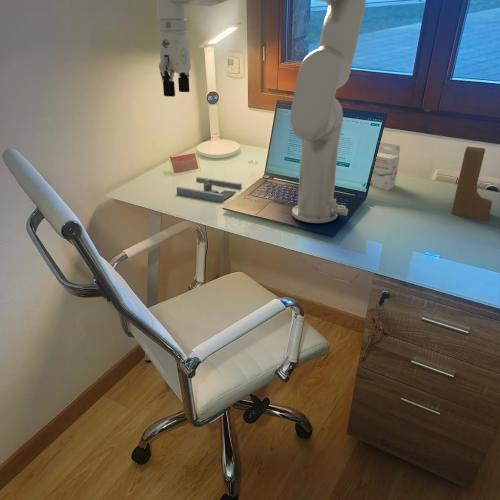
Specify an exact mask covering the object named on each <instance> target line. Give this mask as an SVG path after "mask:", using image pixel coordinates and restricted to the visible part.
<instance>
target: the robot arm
mask: <svg viewBox="0 0 500 500" xmlns="http://www.w3.org/2000/svg"><path fill="white" fill-rule="evenodd" d="M316 1H319V2H325V3H326V5H327V12H326V14H325V17H324V20H323V23H322V27H321V33H320V37H319V43H318V46H317V49H315V50H312V51H310V52H309V53H308V54H307V55H306V56H305V57H304V59H303V60H302V62H301V64H300V67H299V68H298V69H299V70H298V72H297V76H296V83H295V88H294V92H293V97H292V102H291V103H292V104H291V107H290V114H289V125H290V128H291V131H292V132H293V134H294V136H295V137H297V138H298V139H299V140H300V141H301V146H300V156H299V157H300V158H299V159H300V161H299V175H298V177H299V178H298V193H297V197H298V198H297V205H295V206H294V207H293V208H292V209H291V215H292V217H293V218H294V219H296V220H298V221H301V222H304V223H305V222H306V223H311V224H324V223H330V222H333V221H335V220H336V219H337V218H338V216H339V215H340V216H345V217H346V216H348V213H349V208H347V207H346V205H342V204H338V203H337V198H334V193H335V186H336V183H335V182H336V175H337V174H336V173H337V163H338V162H337V160H338V154H339V145H340V144H339V142H340V136H341V132H342V127H343V121H344V120H343V119H344V112H343V107H342V105H341V103H340V102H339V100H338V99H337V98H336V94H337V90H338V89H340V88H341V87H343V86H344V85H345V84H346V83H347V82H348V79H349V78H350V76H351V75H350V74H351V72H352V71H351V70H352V67H353V61H354V57H355V53H356V48H357V44H358V39H359V36H360V30H361V26H362V22H363V18H364V13H365V8H366V0H316ZM224 2H229V0H156V11H157V23H158V24H157V25H158V34H159V37H160V38H159V56H160V62H159V63H158V69H159V71H160V73H159V74H160V76H161V81H162V88H163V96H164V97H170V98H171V97H173V98H174V97H175V96H176V89H175V88H176V87H175V86H176V85H175V80H174V76H175V73H176V74H177V75H178V76H179V77H177V79H178V80H177V82H178V91H179V93H189V92H190V70H191V68H192V64H191V63H192V62H191V54H190V44H189V39H188V29H187V28H188V27H187V9H186V7H187V6H186V5H188V6H199V7H200V6H201V7H202V6H203V7H212V6H217V5H220V4H222V3H224Z"/></svg>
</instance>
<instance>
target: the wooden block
mask: <svg viewBox="0 0 500 500" xmlns="http://www.w3.org/2000/svg"><path fill="white" fill-rule="evenodd" d="M485 153H486V148H483V147H475V146H466V147H465V150H464V154H463V160H462V163H461V168H460V173H459V177H458V182H457V186H456V191H455V195H454V199H453V200H454V201H453V205H452V208H451V209H452V210H451V213H450V214H451V215H454V216H459V217H465V218H471V219H476V220H482V221H488V220H489V216H490V212H491V209H492V203H493V202H492V200H491V199H488V198H484V197H482V196H481V195H480V194H479V193H478V188H477V187H478V186H477V185H478V183H479V178H480V173H481V170H482V165H483V161H484V157H485Z"/></svg>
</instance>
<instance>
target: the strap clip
mask: <svg viewBox="0 0 500 500" xmlns="http://www.w3.org/2000/svg"><path fill="white" fill-rule="evenodd" d="M211 179H212V178H208V180H206V181H204V182H203V191H206V192H212V193H218V194H219V193H220V191H218V190H216V189H213V184H212V180H211ZM208 181H211V183H206V182H208Z"/></svg>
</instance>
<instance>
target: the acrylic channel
mask: <svg viewBox="0 0 500 500" xmlns="http://www.w3.org/2000/svg"><path fill="white" fill-rule="evenodd" d="M208 179H209V178H208V177H207V178H206V177H201V176H197V177H196V182H200V183H204V181H206V180H208ZM210 179H211V180H212V185H216V186H222V187H227V188H233V189H236V190H237V189H239V190H240V189H242V183H239V182H233V181H227V180H226V181H225V180H219V179H212V178H210ZM208 183H211V181H208V182H206V184H208ZM236 193H237V191H235V190H234V191H233V190H222V191H221V192H219V194H218V193H212V192H206V191H204V190H202V189H201V190H200V189H199V190H198V189H194V188H189V187H188V188H187V187H184V186H183V187H181V186H177V187H176V194H177V195H180V196H186V197H191V198H197V199H203V200H206V201H207V200H208V201H214V202H219V203H224V202H225V201H226V200H228V199H229V198H232V196H234V194H236Z"/></svg>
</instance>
